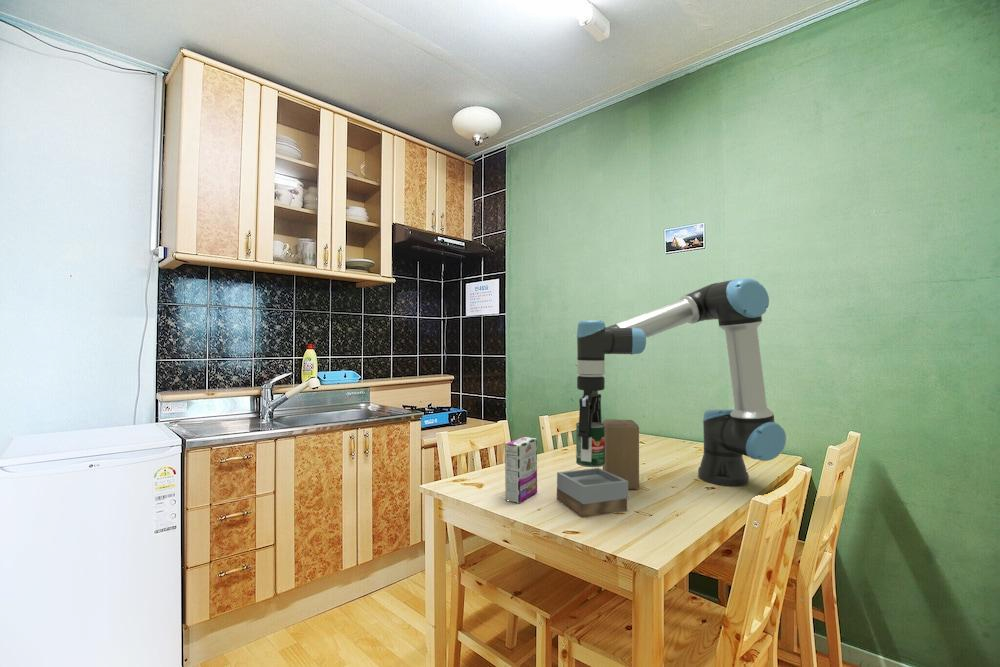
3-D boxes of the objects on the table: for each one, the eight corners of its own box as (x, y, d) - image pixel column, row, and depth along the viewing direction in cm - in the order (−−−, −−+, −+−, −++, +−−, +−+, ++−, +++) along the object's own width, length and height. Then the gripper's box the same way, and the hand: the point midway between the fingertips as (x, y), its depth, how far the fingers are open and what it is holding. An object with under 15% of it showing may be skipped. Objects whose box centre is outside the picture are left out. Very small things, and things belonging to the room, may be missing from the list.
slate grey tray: (598, 482, 135) (598, 467, 136) (628, 498, 122) (628, 481, 123) (557, 488, 130) (557, 472, 130) (583, 504, 117) (583, 486, 117)
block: (633, 480, 149) (633, 419, 149) (639, 490, 139) (639, 424, 139) (602, 479, 150) (602, 418, 150) (606, 489, 140) (606, 424, 140)
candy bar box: (523, 490, 139) (523, 436, 139) (537, 493, 136) (537, 438, 136) (503, 500, 129) (504, 443, 130) (519, 504, 127) (519, 445, 127)
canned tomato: (586, 458, 132) (586, 420, 132) (610, 463, 127) (610, 424, 127) (570, 463, 127) (570, 423, 127) (594, 469, 121) (594, 427, 121)
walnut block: (599, 496, 135) (599, 482, 136) (627, 513, 122) (627, 498, 122) (556, 501, 131) (556, 487, 131) (580, 519, 118) (580, 504, 118)
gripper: (587, 372, 138) (587, 448, 138) (565, 377, 119) (565, 464, 119) (612, 373, 135) (612, 451, 134) (594, 378, 116) (593, 468, 116)
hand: (590, 457), depth 127 cm, fingers closed on canned tomato, 8 cm apart
